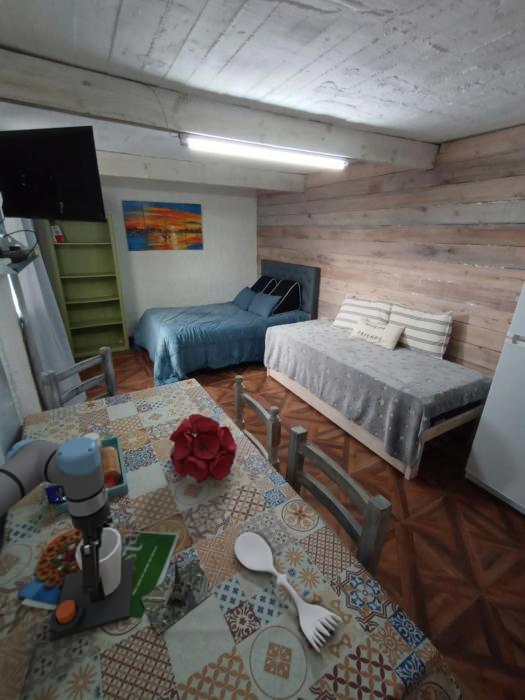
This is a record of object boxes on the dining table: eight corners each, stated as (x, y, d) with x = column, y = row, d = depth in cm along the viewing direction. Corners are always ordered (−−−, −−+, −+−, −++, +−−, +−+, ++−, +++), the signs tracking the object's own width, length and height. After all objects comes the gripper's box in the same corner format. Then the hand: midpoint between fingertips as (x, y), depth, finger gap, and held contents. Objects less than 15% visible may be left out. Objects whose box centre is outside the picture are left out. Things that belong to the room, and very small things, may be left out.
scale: (48, 643, 67) (45, 635, 66) (66, 577, 80) (63, 569, 79) (130, 619, 72) (128, 611, 71) (134, 560, 85) (133, 552, 84)
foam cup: (112, 557, 84) (104, 521, 79) (135, 576, 80) (129, 539, 75) (77, 589, 76) (66, 551, 72) (100, 612, 72) (91, 573, 67)
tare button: (55, 626, 68) (53, 620, 67) (60, 608, 71) (58, 602, 71) (74, 620, 69) (72, 615, 68) (78, 603, 72) (76, 597, 72)
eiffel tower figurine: (195, 560, 85) (193, 523, 80) (216, 590, 78) (215, 552, 73) (140, 599, 76) (134, 560, 71) (158, 638, 69) (152, 598, 64)
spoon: (317, 661, 66) (319, 652, 64) (227, 550, 88) (227, 541, 87) (343, 628, 71) (344, 619, 70) (252, 531, 94) (252, 523, 92)
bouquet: (159, 493, 114) (208, 498, 94) (140, 431, 115) (183, 423, 95) (205, 466, 131) (255, 465, 111) (188, 411, 131) (234, 401, 111)
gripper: (98, 552, 59) (113, 623, 66) (114, 462, 81) (124, 523, 89) (52, 562, 57) (73, 634, 64) (82, 468, 79) (95, 529, 87)
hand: (103, 570), depth 77 cm, fingers open, 13 cm apart
